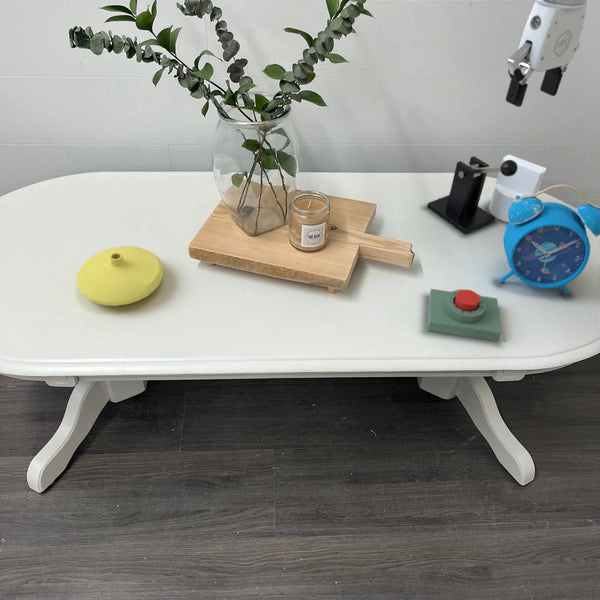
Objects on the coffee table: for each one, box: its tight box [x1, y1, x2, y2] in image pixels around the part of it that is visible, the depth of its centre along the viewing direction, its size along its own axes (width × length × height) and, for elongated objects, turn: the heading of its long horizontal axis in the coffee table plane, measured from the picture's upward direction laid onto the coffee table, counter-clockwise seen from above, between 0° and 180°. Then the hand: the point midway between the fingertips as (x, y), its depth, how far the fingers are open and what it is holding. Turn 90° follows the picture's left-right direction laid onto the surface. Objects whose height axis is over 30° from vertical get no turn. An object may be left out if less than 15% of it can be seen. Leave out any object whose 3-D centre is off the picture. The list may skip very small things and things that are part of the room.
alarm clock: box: [498, 183, 600, 295], centre depth 105 cm, size 17×10×20 cm, turn 76°
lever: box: [467, 160, 518, 177], centre depth 116 cm, size 13×3×3 cm, turn 33°
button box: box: [427, 288, 501, 342], centre depth 102 cm, size 12×9×4 cm
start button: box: [455, 289, 480, 312], centre depth 101 cm, size 4×4×2 cm
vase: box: [75, 245, 164, 307], centre depth 106 cm, size 16×16×7 cm
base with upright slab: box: [488, 154, 547, 223], centre depth 126 cm, size 9×9×12 cm
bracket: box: [426, 155, 496, 235], centre depth 124 cm, size 12×9×13 cm
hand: (530, 98), depth 103 cm, fingers open, 8 cm apart
